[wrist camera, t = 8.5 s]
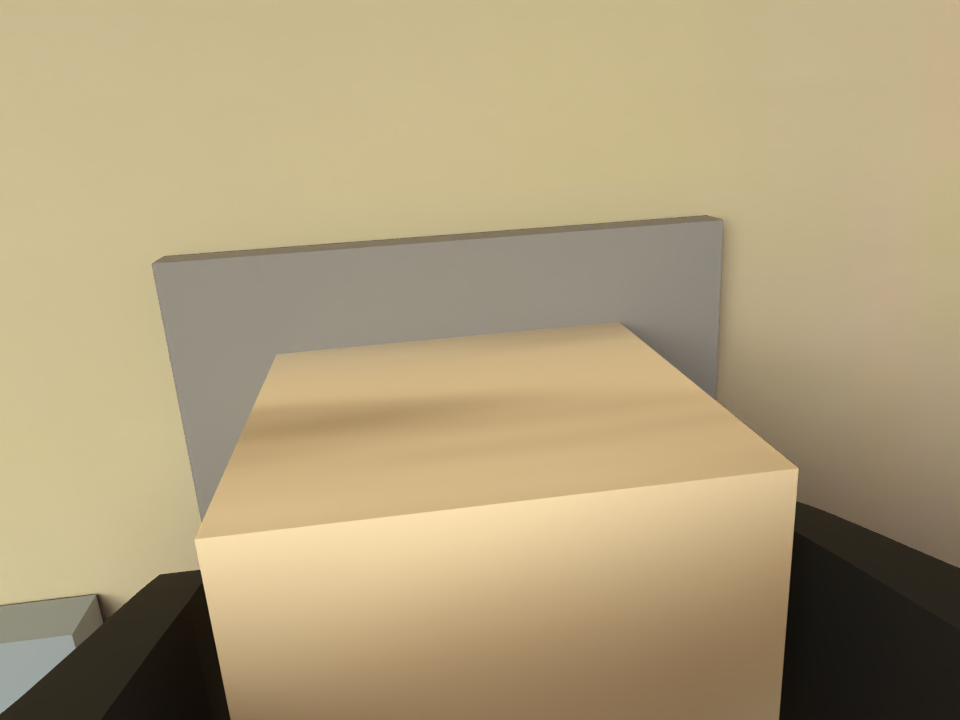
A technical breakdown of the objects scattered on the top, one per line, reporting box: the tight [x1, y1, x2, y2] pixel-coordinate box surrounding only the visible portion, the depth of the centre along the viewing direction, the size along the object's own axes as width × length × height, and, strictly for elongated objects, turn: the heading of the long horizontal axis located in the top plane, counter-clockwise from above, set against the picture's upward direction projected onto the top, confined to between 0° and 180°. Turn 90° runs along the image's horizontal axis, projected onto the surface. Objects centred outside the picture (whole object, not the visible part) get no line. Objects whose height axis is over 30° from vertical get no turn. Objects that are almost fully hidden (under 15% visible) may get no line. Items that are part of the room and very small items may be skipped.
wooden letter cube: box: [194, 322, 799, 720], centre depth 9 cm, size 5×5×5 cm
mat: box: [152, 215, 723, 522], centre depth 12 cm, size 8×8×1 cm
